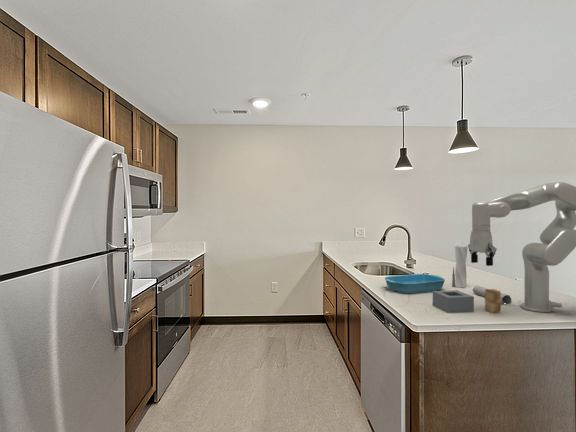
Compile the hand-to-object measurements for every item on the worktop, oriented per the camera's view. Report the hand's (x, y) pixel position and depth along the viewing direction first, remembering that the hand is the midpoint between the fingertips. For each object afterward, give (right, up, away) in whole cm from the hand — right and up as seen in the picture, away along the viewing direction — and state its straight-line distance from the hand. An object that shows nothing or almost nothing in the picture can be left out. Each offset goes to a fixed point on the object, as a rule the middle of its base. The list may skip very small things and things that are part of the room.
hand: (481, 264), depth 161 cm
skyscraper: (+15, -22, +49) cm, 56 cm away
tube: (+16, -22, +20) cm, 34 cm away
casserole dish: (-16, -22, +43) cm, 51 cm away
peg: (+3, -22, -4) cm, 22 cm away
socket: (-13, -22, +2) cm, 25 cm away
